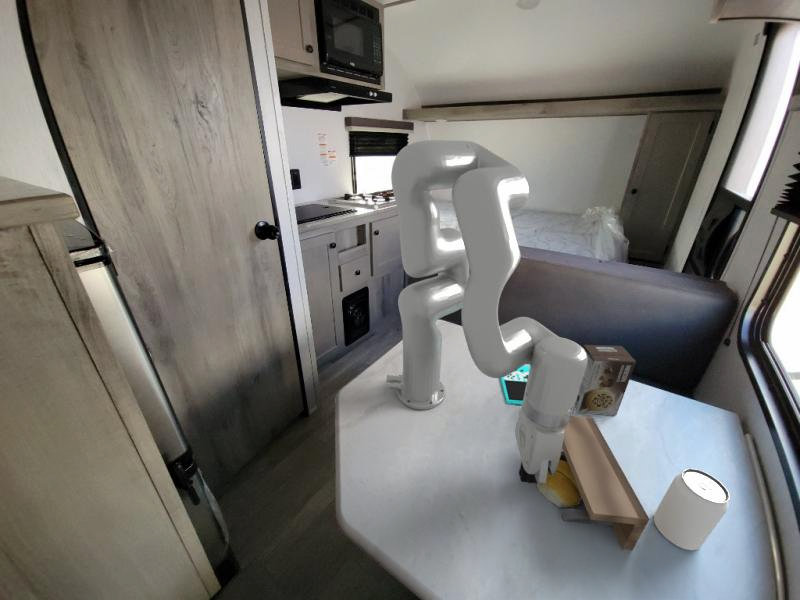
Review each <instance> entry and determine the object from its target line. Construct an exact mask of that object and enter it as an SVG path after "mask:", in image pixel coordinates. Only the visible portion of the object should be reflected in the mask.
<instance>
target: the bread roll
mask: <svg viewBox="0 0 800 600" xmlns="http://www.w3.org/2000/svg"><path fill="white" fill-rule="evenodd" d="M535 484H536V487H537V489H538V491H539V492H540V493H541V494H542V495H543V496H544V497H545V498H546V499H547V500H548V501H550V502H551V503H552V504H554V505H555V506H557V507H561V508H574V507H576V506H578V505H579V504H580V502H581V499H582V496H581V494H580V491H579V489H578V486H577V484H576V481H575V479H574V476H573V474H572V472H571V469H570V467H569V464H568V462H566V461H562V460H559V463H558V467H557V469H556V472H555V473H554V475H553V476H551V475H550V474H549V471H547V478H546V484H540V483H535Z"/></svg>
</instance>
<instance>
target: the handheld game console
mask: <svg viewBox="0 0 800 600" xmlns="http://www.w3.org/2000/svg"><path fill="white" fill-rule="evenodd" d="M529 370H530V365H523V366H522V367H520V368H519V369H517V370H516V371H514V372H512V373H510V374H509V375H507V376H505V377H502V378H500V382H501V385H502V390H503V394H504V398H505V402H506V404H507V405H512V406H513V405H515V406H522V403H523V398H524V393H525V389H526V384H527V379H528V375H529Z"/></svg>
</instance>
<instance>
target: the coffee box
mask: <svg viewBox="0 0 800 600" xmlns="http://www.w3.org/2000/svg"><path fill="white" fill-rule="evenodd" d="M582 348H583V349H584V350H585V352H586V353H587V357H588V363H587V367H586V370H585V373H584V376H583V380H582V383H581V386H580V389H579V393H578V396H577V399H576V402H575V405H574V408H575V410H576V412H577V413H579V414H589V415H590V414H591V415H605V416H608V415H609V416H617V415H618V412H619V409H620V406H621V404H622V401H623V398H624V396H625V392H626V390H627V387H628V385H629V382H630V381H631V377H632V374H633V371H634V369H635V366H636V364H637V361H636V360H635V359H634V358H633V357H632V355H631V354H630V352H628V351H627V350H626V349H625V347H623V346H622V345H602V344H601V345H598V344H597V345H595V344H583V346H582Z"/></svg>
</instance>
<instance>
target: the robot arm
mask: <svg viewBox="0 0 800 600" xmlns="http://www.w3.org/2000/svg"><path fill="white" fill-rule="evenodd" d="M390 175H391V176H390V179H391V187H392V193H393V197H394V200H395V204H396V208H397V213H398V225H399V239H400V251H401V252H400V253H401V254H400V255H401V262H402V267H403V269H404V270H403V271H404V272H405V273H406V275H408V276H409V277H411V278H415V279H416V278H418V279H419V278H424V277H425V278H426V277H429V276H434V275H436V274H437V276H434V277H430V278H426V279H422V280H420V281H417V282H414V283H411V284H409V285H407V286H406V287H405V288H404V289H402V290H401V291H400V293H399V295H398V298H397V305H398V306H397V307H398V311H399V314H400V320H401V328H402V374H398V375H393V374H391V375H390V374H387V375H386V381H385V382H386V383H389V388H390V389H396V393H397V398H398V399H399V401H400V402H401V403H402V404H403V405H405V406H407V407H409V408H411V409H413V410H414V409H415V410H422V411H424V410H431V409H433V408H436V407H437V406H439V405H441V403H442V402H443V401H444V399H445V394H446V389H445V386H444V384H443V383H442V382H441V381H440V380H441V364H442V351H443V350H442V348H443V346H442V345H443V335H442V332H441V330H440V329H439V327H438V326H437V321H438V320H439V319H441V318H443V317H445V316H448V315H450V314H453V313H455V312H458V311H459V310H461V312H460V313H461V316H460V317H461V326H462V330H463V335H464V338H465V341H466V344H467V349H468V352H469V354H470V356H471V359H472V362H473V363H474V364H475V366H476V368H477V369H478V370H479V371H480V373H482V374H483V375H485V376H487V377H489V378H492V379H501V378H502V377H505V376H507V375H509V374H510V373H512V372H514V371H516V370H517V369H519V368H520V367H522V366H526V365H528V366H530V370H529V375H528V379H527V384H526V389H525V393H524V398H523V403H522V405H520V406H521V407H520V409H519V413H518V417H517V420H516V423H515V428H514V433H515V440H516V444H517V448H518V453H519V456H520V460H521V461H520V465H519V470H518V471H519V472H518V475H519V481H520V482H522V483H528V484H536V483H540V484H546V478H547V471H549V474H550V475H551V476H553V475H554V473H555V472H556V469H557V467H558V463H559V460H560V455H561V451H563V449H562V445H563V439H564V429H565V428H566V427H567V426H568V425H569V422H570V418H571V416H573V411H574V408H575V406H574V405H575V402H576V399H577V396H578V393H579V389H580V386H581V383H582V380H583V376H584V373H585V370H586V367H587V363H588V357H587V353H586V352H585V350H584V349H583V346H581V345H580V344H578V343H577V342H575V341H573V340H571V339H568V338H565V337H562V336H561V337H560V336H558V335H557V334H556V333H554V332H553V331H552V330H550V329H549V328H547V327H546V326H544V325H543V324H542V323H540V322H538V321H537V320H535V319H533V318H532V317H528V316H518V317H516V318H513V319H511V320H510V321H508V322H506V323H503V324H501V325H500V324H499V323H500V321H499V303H500V299H501V295H502V292H503V291H504V288H505V285H506V284H507V282H508V280H509V279H510V278H511V276H512V275H513V274H514V272H515V270H516V269H517V267H518V265H519V263H520V261H521V256H522V255H521V250H520V247H519V243H518V239H517V235H516V231H515V228H514V227H515V226H514V223H513V219H512V215H513V214H516V213H518V212H520V211H521V210H522V209H523V208H524V207H525V205H526V204H527V202H528V199H529V197H530V195H529V194H530V188H529V182H528V179H527V178H526V175H525V174H524V172H523V171H522V170H520V169H519V168H518V167H517V166H516V165H514V164H512V163H511V162H509V161H508V160H506V159H505V158H503V157H501V156H500V155H497V153H495V152H493V151H491V150H489V149H488V148H486V147H485V146H482V145H481V144H479V143H477V142H474V141H470V140H444V139H443V140H441V139H439V140H437V139H436V140H435V139H434V140H433V139H431V140H419V141H415V142H412V143H409V144H407V145H405V146H404V147H403V148H401V149H400V150H399V151H398V153H397V154H396V156H395V159H394V161H393V163H392V167H391V172H390ZM450 189H451V201H452V205H453V209H454V214H455V217H456V221H457V224H458V229H459V230H458V229H457V228H453V227H444V228H441V226H440V225H441V223H440V221H441V220H440V219H441V218H440V217H441V216H440V210H439V206H438V204H437V202H436V200H435V198H434V197H433V195H432V194H431V193H430V192H431V191H437V190H450Z"/></svg>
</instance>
